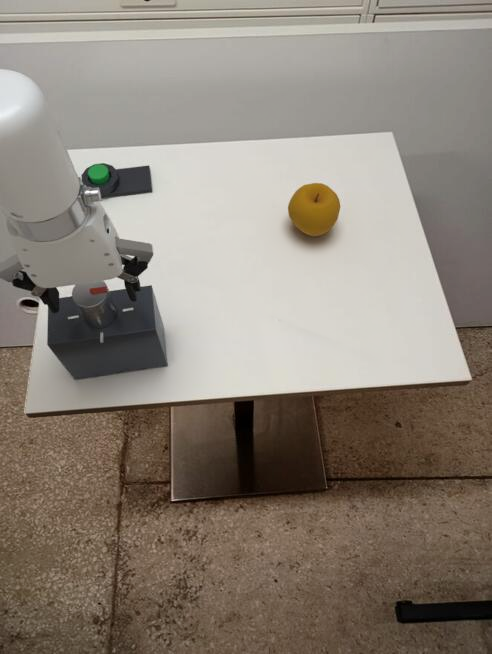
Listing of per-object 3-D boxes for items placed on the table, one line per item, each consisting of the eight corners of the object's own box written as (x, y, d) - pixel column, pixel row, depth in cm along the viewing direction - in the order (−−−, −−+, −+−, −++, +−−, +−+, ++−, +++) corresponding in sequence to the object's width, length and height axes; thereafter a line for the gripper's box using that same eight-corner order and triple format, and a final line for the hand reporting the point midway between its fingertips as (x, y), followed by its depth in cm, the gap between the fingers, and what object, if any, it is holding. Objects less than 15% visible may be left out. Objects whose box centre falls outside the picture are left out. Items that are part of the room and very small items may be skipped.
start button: (90, 186, 90) (87, 180, 89) (89, 171, 92) (87, 165, 91) (110, 183, 91) (108, 177, 89) (109, 169, 92) (107, 163, 91)
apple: (279, 237, 88) (282, 202, 80) (297, 203, 92) (301, 167, 84) (324, 253, 86) (333, 219, 78) (341, 218, 90) (350, 183, 82)
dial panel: (74, 385, 75) (46, 350, 64) (74, 334, 79) (47, 293, 68) (168, 370, 76) (156, 334, 65) (163, 321, 80) (150, 279, 69)
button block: (85, 201, 92) (81, 191, 89) (85, 175, 95) (81, 165, 92) (152, 193, 93) (150, 183, 90) (149, 167, 96) (147, 157, 93)
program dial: (84, 330, 65) (71, 308, 60) (83, 302, 67) (70, 278, 62) (118, 325, 66) (107, 303, 61) (116, 297, 68) (106, 273, 63)
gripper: (134, 165, 50) (161, 263, 65) (-43, 187, 49) (26, 282, 64) (139, 222, 47) (166, 312, 62) (-51, 248, 46) (24, 334, 61)
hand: (95, 297), depth 63 cm, fingers open, 9 cm apart
